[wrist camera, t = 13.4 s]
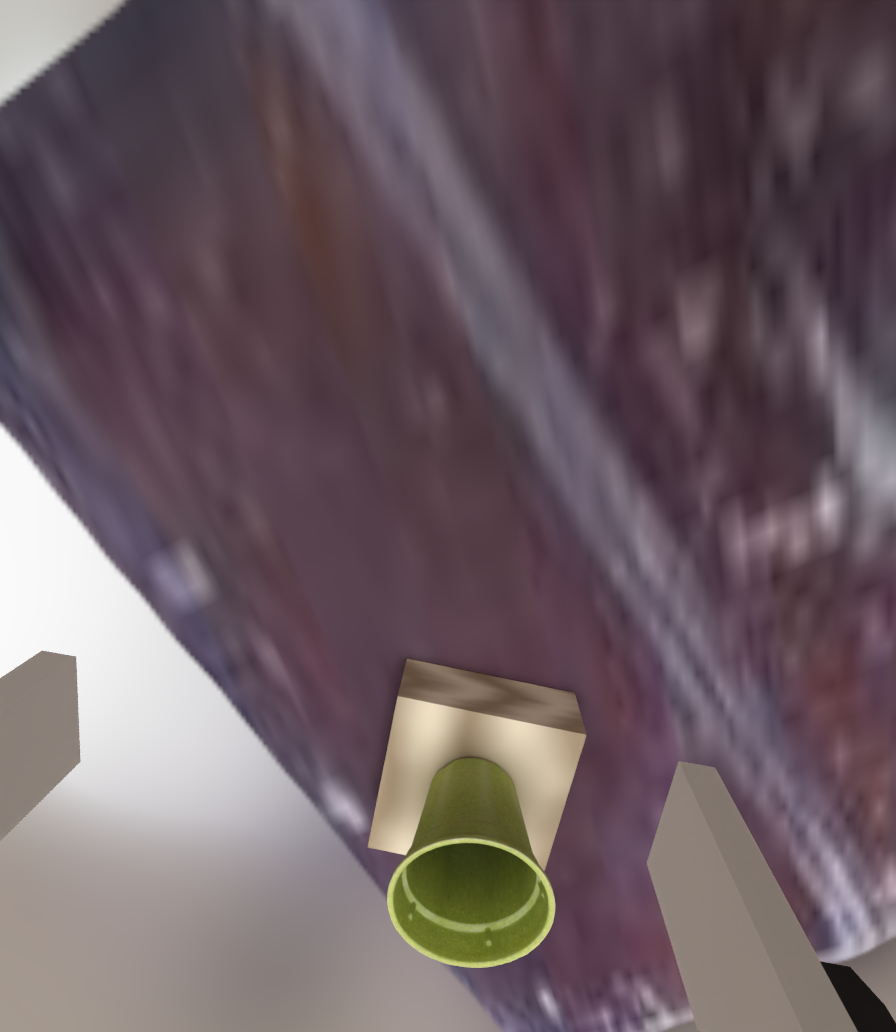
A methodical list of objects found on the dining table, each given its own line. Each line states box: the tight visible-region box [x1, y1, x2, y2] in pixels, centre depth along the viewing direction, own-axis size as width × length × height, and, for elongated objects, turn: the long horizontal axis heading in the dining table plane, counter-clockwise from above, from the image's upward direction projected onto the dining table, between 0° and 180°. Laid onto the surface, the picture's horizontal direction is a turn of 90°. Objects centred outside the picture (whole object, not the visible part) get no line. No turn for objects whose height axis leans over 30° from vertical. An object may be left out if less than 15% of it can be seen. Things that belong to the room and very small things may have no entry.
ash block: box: [368, 659, 586, 871], centre depth 43 cm, size 13×13×5 cm
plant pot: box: [387, 758, 555, 968], centre depth 36 cm, size 9×9×9 cm
